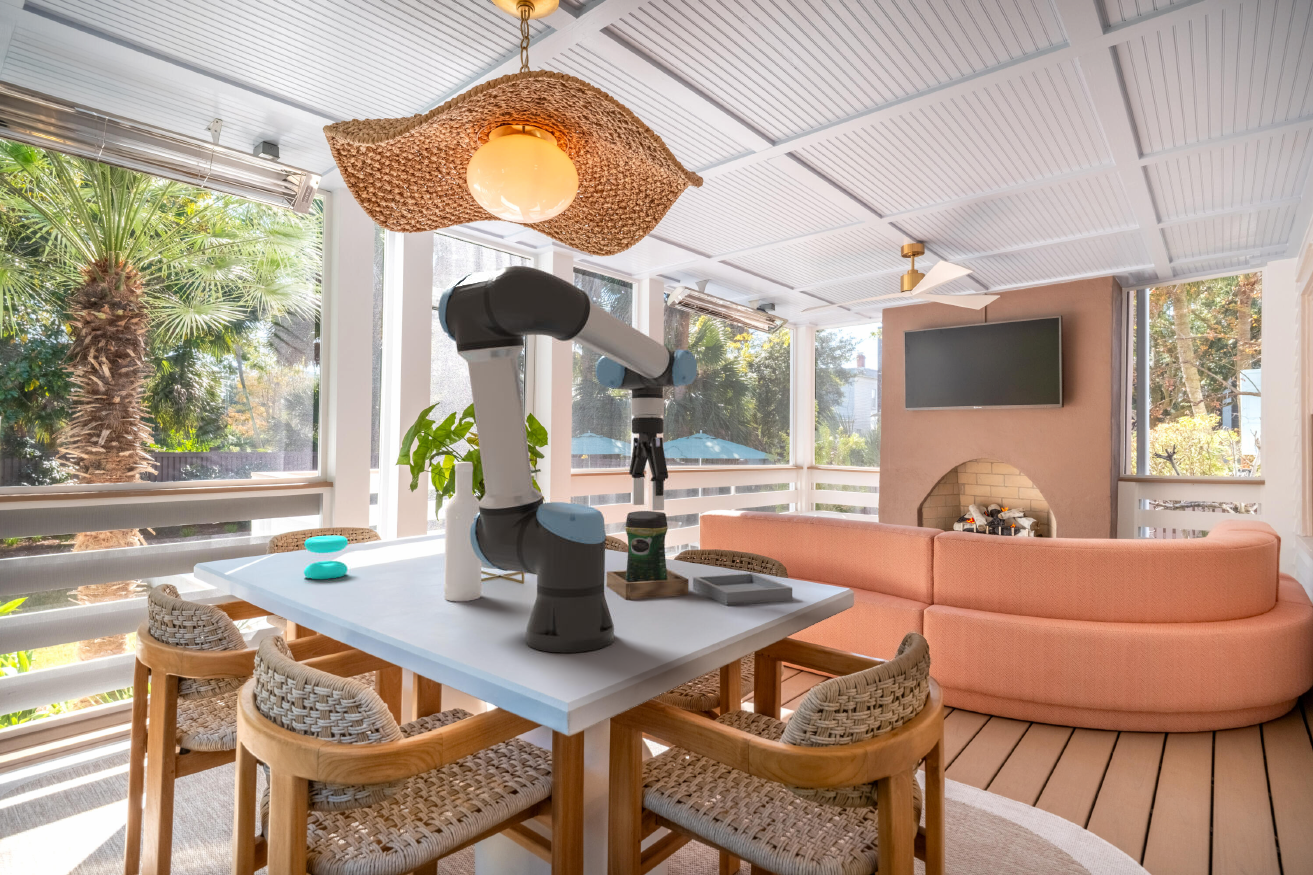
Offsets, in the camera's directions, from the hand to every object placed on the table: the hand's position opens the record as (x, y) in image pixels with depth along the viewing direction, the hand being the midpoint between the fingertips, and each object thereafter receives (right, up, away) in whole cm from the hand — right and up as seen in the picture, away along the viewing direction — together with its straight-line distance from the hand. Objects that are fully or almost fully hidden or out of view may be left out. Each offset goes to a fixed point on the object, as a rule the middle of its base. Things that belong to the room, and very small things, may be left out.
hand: (647, 507), depth 158 cm
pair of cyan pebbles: (-82, -19, +14) cm, 86 cm away
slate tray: (+21, -19, -4) cm, 29 cm away
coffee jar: (0, -20, 0) cm, 20 cm away
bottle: (-41, -19, -9) cm, 46 cm away
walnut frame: (0, -19, 0) cm, 19 cm away
